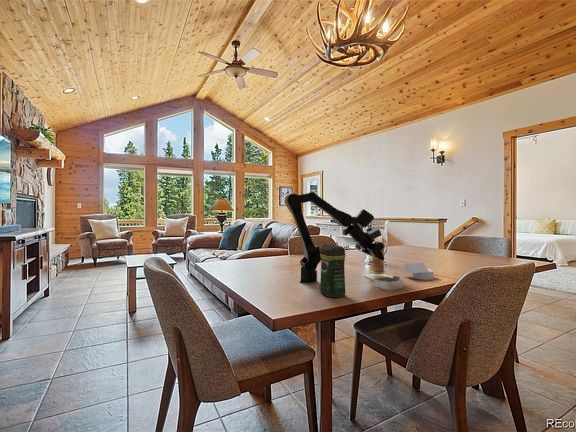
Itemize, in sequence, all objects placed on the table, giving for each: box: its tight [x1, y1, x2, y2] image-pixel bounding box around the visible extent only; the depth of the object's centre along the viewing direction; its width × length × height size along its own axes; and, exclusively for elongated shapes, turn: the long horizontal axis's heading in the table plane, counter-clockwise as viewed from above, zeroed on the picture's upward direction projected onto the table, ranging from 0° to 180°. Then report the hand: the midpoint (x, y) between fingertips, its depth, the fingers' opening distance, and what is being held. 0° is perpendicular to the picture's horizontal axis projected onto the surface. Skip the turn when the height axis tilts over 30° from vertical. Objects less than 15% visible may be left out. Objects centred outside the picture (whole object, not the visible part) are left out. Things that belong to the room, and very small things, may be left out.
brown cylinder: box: [371, 246, 386, 275], centre depth 137 cm, size 6×6×13 cm
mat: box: [360, 272, 393, 282], centre depth 137 cm, size 11×11×1 cm
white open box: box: [373, 275, 404, 292], centre depth 121 cm, size 10×8×4 cm
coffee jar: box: [319, 243, 346, 298], centre depth 111 cm, size 10×8×19 cm
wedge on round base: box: [400, 262, 435, 281], centre depth 137 cm, size 9×7×13 cm
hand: (380, 258), depth 137 cm, fingers closed on brown cylinder, 5 cm apart
